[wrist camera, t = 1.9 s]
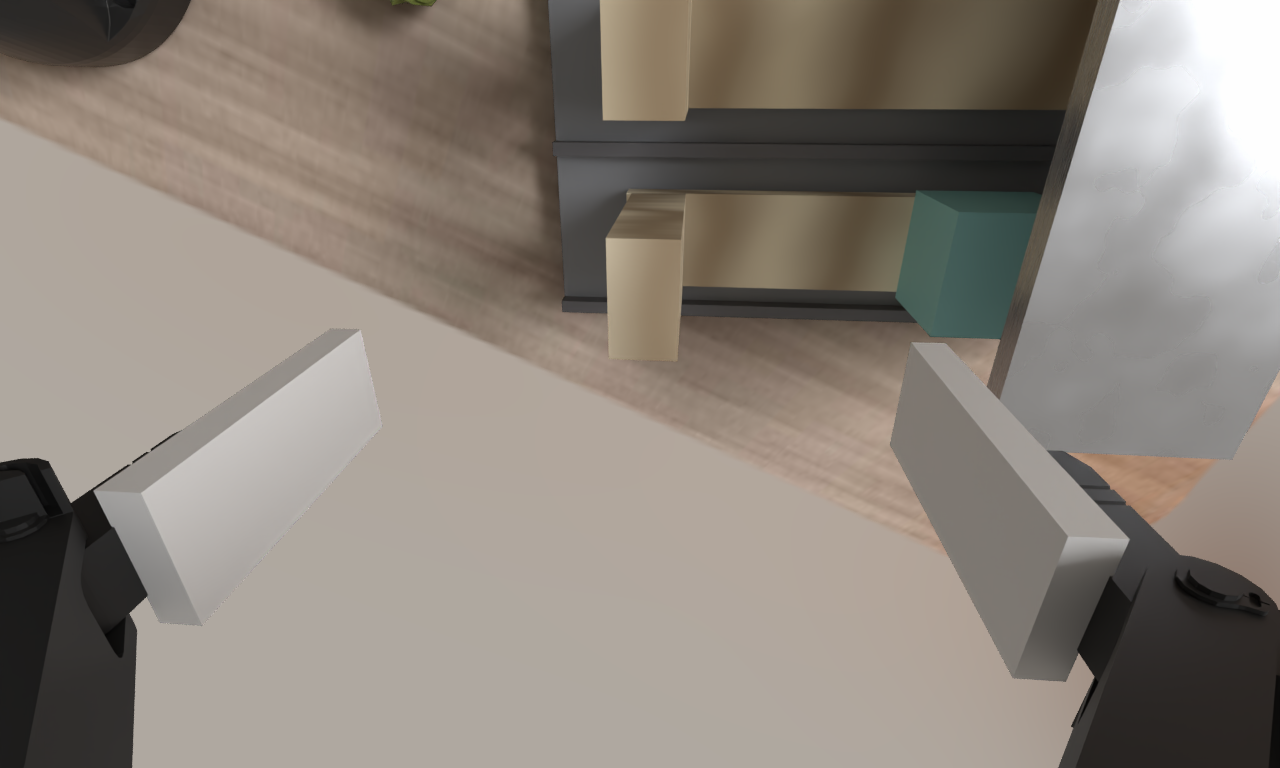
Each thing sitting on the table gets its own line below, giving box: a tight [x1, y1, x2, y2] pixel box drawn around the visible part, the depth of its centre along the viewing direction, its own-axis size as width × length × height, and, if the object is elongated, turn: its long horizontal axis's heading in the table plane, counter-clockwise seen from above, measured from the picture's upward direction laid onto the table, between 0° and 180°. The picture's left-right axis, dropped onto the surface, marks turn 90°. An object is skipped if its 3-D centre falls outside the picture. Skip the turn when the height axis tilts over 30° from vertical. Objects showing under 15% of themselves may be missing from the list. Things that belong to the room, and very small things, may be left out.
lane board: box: [548, 0, 1066, 323], centre depth 28 cm, size 24×16×2 cm, turn 90°
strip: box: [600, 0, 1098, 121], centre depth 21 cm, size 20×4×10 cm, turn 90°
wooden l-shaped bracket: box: [606, 189, 916, 361], centre depth 25 cm, size 20×4×10 cm, turn 90°
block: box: [895, 190, 1042, 339], centre depth 26 cm, size 5×5×5 cm
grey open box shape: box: [987, 0, 1280, 460], centre depth 23 cm, size 9×18×13 cm, turn 0°
